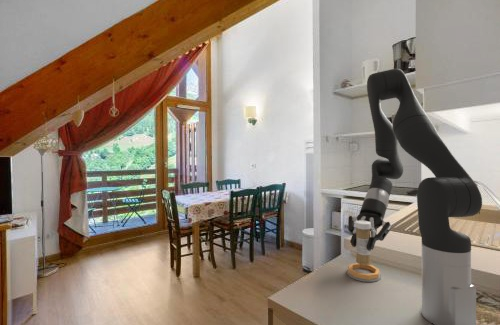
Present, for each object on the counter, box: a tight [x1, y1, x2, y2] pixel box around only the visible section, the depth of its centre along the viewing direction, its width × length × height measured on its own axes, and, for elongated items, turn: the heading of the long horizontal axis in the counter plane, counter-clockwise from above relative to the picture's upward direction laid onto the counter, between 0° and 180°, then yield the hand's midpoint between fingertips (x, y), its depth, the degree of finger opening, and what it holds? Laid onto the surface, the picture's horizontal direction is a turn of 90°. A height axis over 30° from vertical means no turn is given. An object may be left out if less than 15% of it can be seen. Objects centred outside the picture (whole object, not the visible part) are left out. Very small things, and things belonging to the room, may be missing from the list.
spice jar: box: [354, 220, 372, 265], centre depth 85 cm, size 5×5×14 cm
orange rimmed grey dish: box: [346, 262, 382, 283], centre depth 85 cm, size 10×10×2 cm
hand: (360, 247), depth 84 cm, fingers closed on spice jar, 4 cm apart
